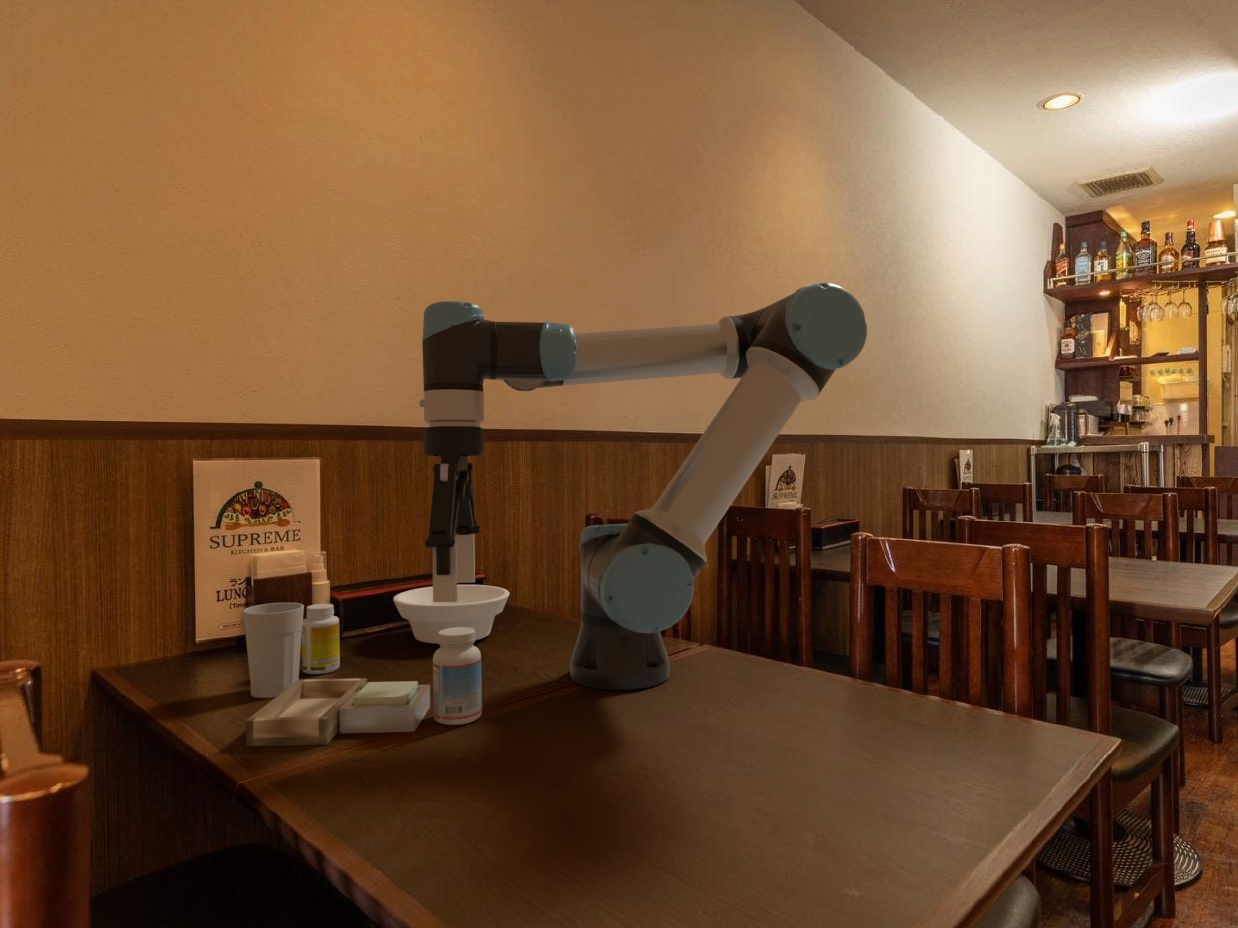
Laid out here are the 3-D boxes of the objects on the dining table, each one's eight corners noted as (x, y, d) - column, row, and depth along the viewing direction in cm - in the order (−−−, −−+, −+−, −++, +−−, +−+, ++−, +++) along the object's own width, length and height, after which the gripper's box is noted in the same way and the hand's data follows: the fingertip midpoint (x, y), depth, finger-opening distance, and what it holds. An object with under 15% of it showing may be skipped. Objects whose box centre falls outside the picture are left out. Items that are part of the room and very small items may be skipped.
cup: (281, 701, 103) (280, 614, 103) (231, 697, 105) (230, 612, 105) (316, 683, 111) (315, 603, 111) (268, 681, 113) (267, 601, 112)
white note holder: (430, 706, 100) (430, 681, 100) (414, 731, 91) (414, 704, 91) (361, 707, 100) (360, 683, 100) (338, 733, 91) (337, 706, 91)
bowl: (531, 630, 144) (530, 588, 144) (466, 658, 125) (465, 609, 125) (442, 621, 152) (441, 581, 152) (368, 646, 133) (367, 600, 133)
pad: (417, 690, 99) (417, 681, 99) (405, 706, 92) (405, 696, 92) (369, 691, 99) (368, 682, 99) (353, 707, 92) (353, 697, 92)
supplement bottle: (347, 667, 119) (346, 603, 119) (320, 677, 114) (319, 610, 114) (321, 663, 122) (320, 601, 122) (294, 673, 117) (293, 607, 116)
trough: (367, 699, 103) (367, 678, 103) (326, 744, 87) (326, 718, 87) (299, 701, 103) (298, 679, 103) (245, 746, 87) (245, 720, 87)
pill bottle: (491, 713, 97) (490, 627, 97) (462, 729, 92) (461, 638, 92) (453, 707, 100) (452, 623, 100) (423, 722, 94) (422, 633, 94)
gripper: (443, 429, 108) (445, 575, 108) (399, 421, 83) (401, 611, 83) (495, 428, 108) (497, 575, 108) (467, 420, 83) (469, 610, 83)
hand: (455, 591), depth 96 cm, fingers open, 13 cm apart
